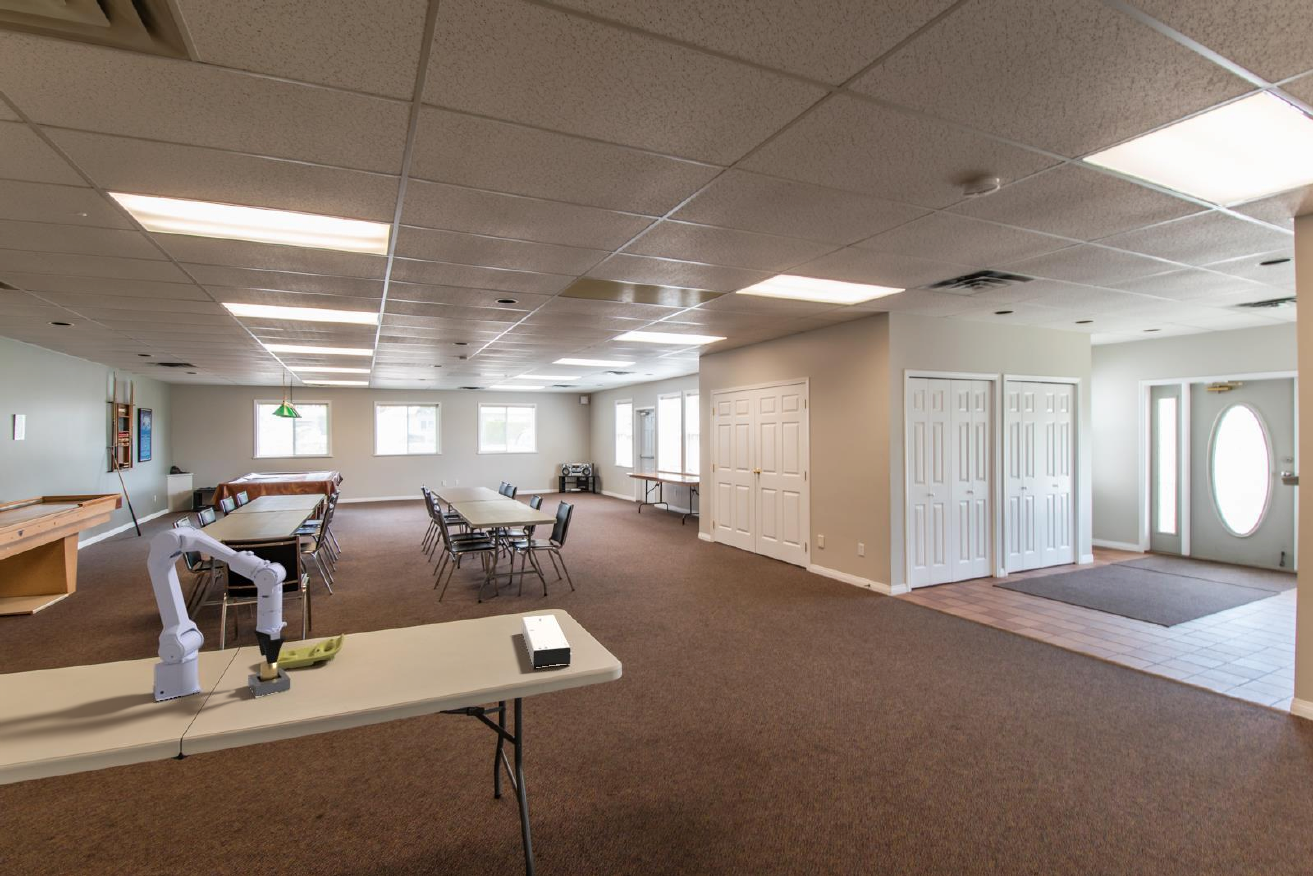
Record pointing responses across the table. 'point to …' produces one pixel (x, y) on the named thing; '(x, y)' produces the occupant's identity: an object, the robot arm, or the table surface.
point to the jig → (269, 683)
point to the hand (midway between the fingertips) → (268, 658)
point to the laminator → (545, 641)
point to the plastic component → (310, 654)
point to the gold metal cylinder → (268, 671)
